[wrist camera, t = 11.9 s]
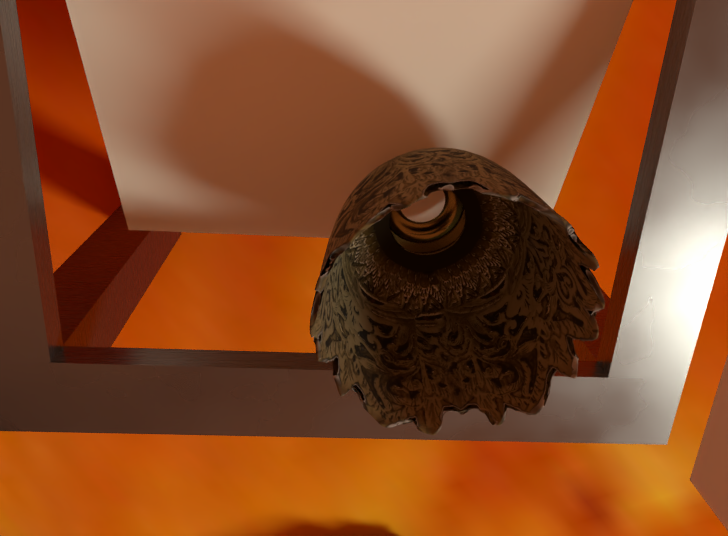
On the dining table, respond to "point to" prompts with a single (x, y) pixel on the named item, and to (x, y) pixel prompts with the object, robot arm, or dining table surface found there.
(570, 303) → the brown rounded piece
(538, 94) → the trapdoor
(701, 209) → the stand
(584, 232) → the dining table surface
